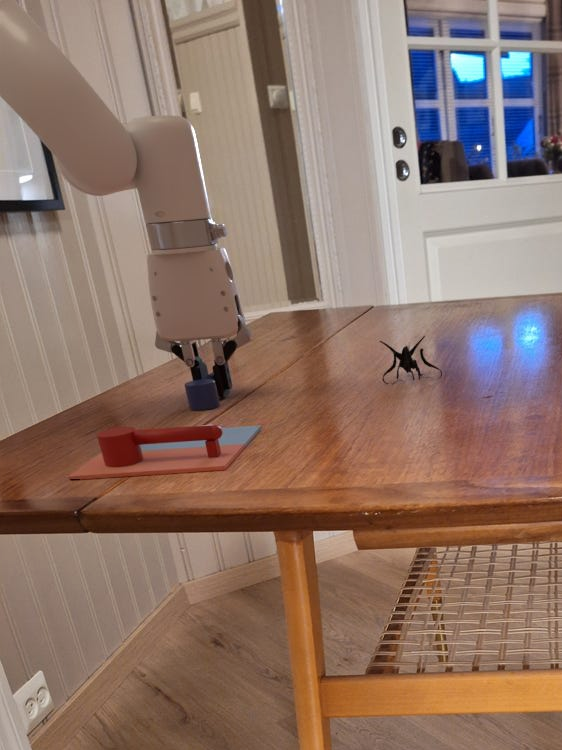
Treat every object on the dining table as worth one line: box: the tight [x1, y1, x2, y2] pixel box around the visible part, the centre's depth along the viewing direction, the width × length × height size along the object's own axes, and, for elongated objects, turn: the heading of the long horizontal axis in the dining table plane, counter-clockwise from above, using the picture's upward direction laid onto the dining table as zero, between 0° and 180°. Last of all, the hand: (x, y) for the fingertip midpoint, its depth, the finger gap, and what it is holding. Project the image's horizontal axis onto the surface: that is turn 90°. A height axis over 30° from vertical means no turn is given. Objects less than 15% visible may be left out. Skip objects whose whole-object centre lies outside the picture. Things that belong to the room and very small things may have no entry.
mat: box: [68, 425, 262, 480], centre depth 88 cm, size 15×15×1 cm
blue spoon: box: [184, 371, 221, 412], centre depth 109 cm, size 12×4×3 cm, turn 0°
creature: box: [379, 335, 443, 385], centre depth 112 cm, size 8×5×8 cm
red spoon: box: [96, 424, 223, 467], centre depth 84 cm, size 12×4×3 cm, turn 90°
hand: (215, 395), depth 111 cm, fingers closed
